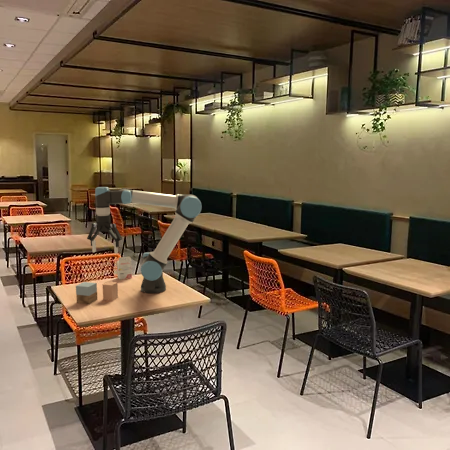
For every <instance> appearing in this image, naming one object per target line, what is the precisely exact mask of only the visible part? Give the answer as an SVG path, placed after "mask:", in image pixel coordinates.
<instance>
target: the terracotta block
mask: <svg viewBox="0 0 450 450" xmlns="http://www.w3.org/2000/svg"><path fill="white" fill-rule="evenodd" d="M118 284H119V283H118V282H115V281H107V282H105V283H103V284H102V300H103V301H109V302H110V301H111V302H113V301H115V300H117V299H118V298H119V292H118V291H119V290H118Z"/></svg>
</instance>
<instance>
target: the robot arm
mask: <svg viewBox="0 0 450 450" xmlns="http://www.w3.org/2000/svg"><path fill="white" fill-rule="evenodd" d="M94 191H95V192H94V195H95V196H94V197H95V200H94V201H95V215H96V222H94V223H91V228H90V231H89V232H88V235H87V237H86V239H87V240H89V242H90V246H91V250H92V253H95V252H96V253H97V246H96V245H97V244H96V243H97V242H96V238H97V236H98V235H99V234H100V232H101V233H103V232H104V233H105V232H107V233H108V234H109V235H110V236H111V238H112V239H113V240H114V242H113V248H114V249H113V250H114V254H117V253H118V252H119V247H120V241H122V240H123V238H122V235H121V234H120V232H119V229H118V228H117V224H116V223H111V222H112V221H111V215H110V214H111V206H110V205H128V204H139V205H147V206H152V207H153V206H155V207H163V208H170V209H174V210H175V211H174V213H175V216H174V218H173V220H172V221H171V223H170V225H169V226H168V228H167V229H166V231H165V232H164V234H163V236H162V237H161V239H160V240H159V242H158V244H157V245H156V248H155V249H154V250H153V251H150V252H149V251H148V252H144V253H142V264H141V267H140V273H141V275H142V280H141V281H142V282H141V285H140V292H142V293H146V294H159V293H163V292H165V291H166V290H167V285H166V282H165V279H164V275H163V274H164V271H163V270H165V267H166V265H167V264H168V258H169V256H170V255H171V253H172V251H173V250H174V248H175V247H176V244H178V242H179V240H180V239H181V238H182V235H183V234H184V232H185V231H186V229H187V227H188V225H190V224H193V222H194V221H195V219H196V218H197V217H198V216H199V215H200V213H201V212H202V208H203V207H202V202H201V200H200V199H199V197H198V196H196V195H194V194H181V193H180V194H179V193H177V194H175V195H173V194H166V193H160V192H159V193H158V192H151V191H142V190H135V189H133V190H132V189H127V188H120V189H118V190H110V188H109V187H108V186H98V187H96V188H95V190H94ZM96 227H97V229H96ZM95 229H96V230H95Z"/></svg>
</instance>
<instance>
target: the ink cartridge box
mask: <svg viewBox="0 0 450 450" xmlns="http://www.w3.org/2000/svg"><path fill="white" fill-rule="evenodd" d="M131 258H132V257H131V256H123V257H122V256H121V257H118V260H116V268H117V271H116V272H117V278H118V280H124V279H125V278H127V279H132V278H133V277H132V276H133V273H132V269H133V268H132V259H131Z"/></svg>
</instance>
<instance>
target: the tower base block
mask: <svg viewBox="0 0 450 450" xmlns="http://www.w3.org/2000/svg"><path fill="white" fill-rule="evenodd" d="M75 295H76V294H75ZM96 301H98V291H97V292H95V293H94V294H92V295H90V296H85V295H76V304H81V305H82V304H83V305H92V304H93V303H95V302H96Z"/></svg>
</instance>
